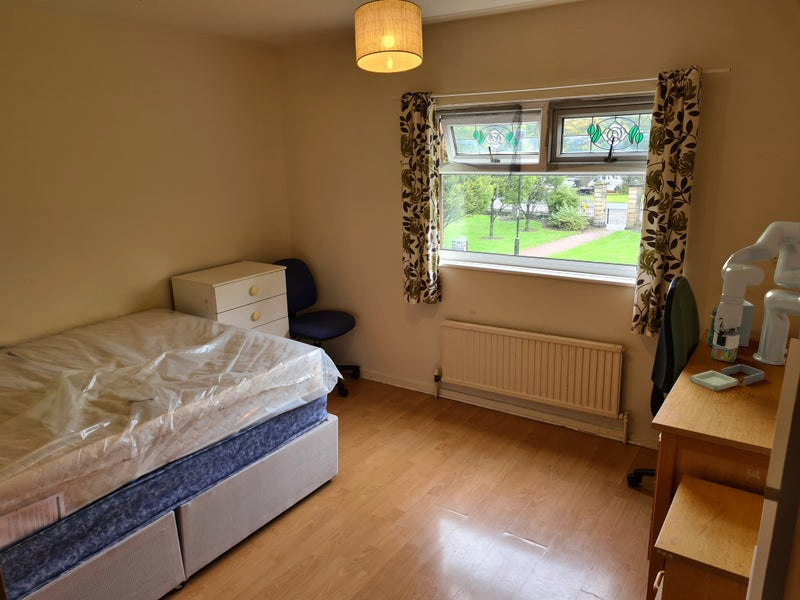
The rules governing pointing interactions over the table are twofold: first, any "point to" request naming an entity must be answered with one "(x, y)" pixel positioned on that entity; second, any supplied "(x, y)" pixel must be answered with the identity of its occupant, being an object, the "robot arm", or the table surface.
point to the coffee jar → (712, 327)
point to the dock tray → (714, 380)
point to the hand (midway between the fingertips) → (725, 343)
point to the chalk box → (724, 353)
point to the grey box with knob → (729, 339)
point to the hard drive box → (746, 323)
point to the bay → (754, 373)
